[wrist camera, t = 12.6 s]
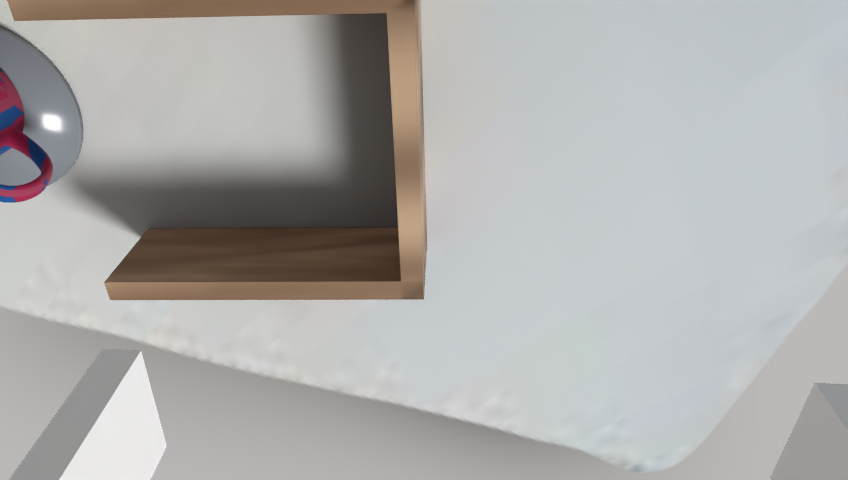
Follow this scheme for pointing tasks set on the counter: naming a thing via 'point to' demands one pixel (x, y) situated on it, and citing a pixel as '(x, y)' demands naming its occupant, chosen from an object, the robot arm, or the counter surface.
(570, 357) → the counter surface
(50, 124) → the slate coaster
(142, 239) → the walnut bay
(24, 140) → the mug
